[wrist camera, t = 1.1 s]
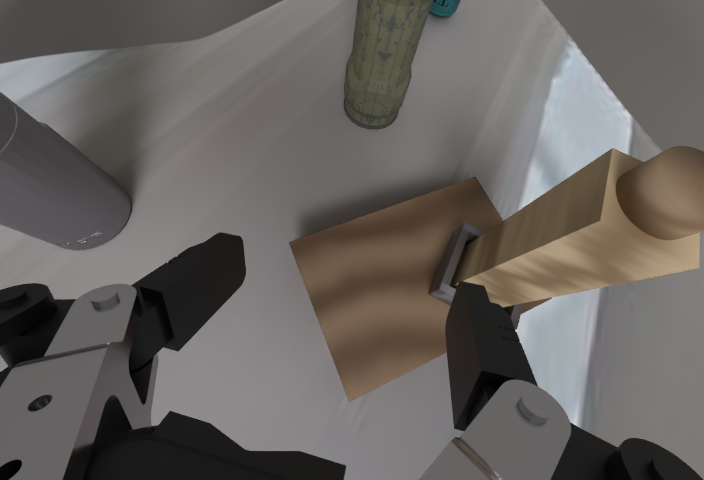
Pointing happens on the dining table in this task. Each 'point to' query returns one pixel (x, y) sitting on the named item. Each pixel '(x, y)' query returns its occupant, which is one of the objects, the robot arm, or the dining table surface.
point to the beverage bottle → (444, 7)
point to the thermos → (382, 59)
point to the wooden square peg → (595, 230)
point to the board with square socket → (393, 282)
